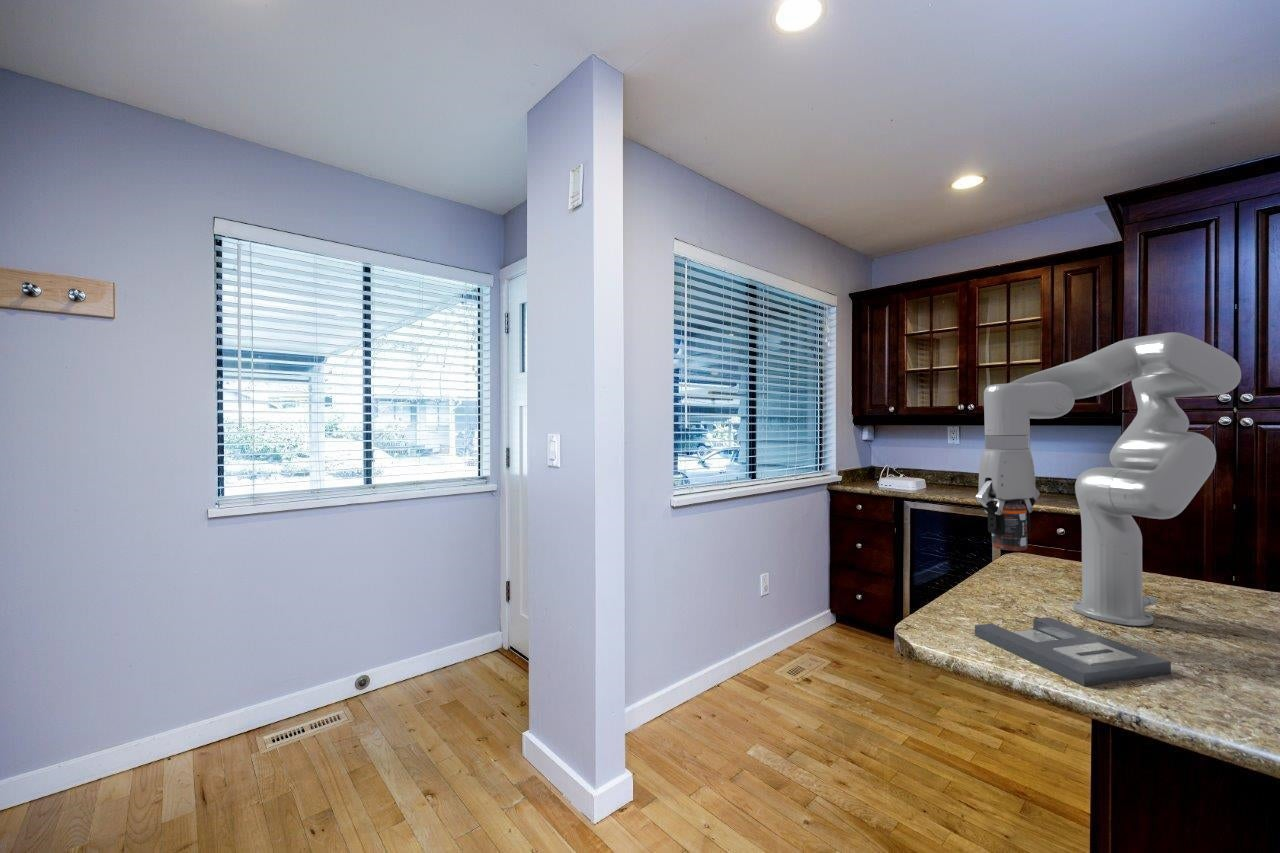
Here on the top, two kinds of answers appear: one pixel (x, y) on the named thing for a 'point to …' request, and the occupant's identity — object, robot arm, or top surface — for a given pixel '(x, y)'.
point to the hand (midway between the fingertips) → (1009, 531)
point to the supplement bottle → (1012, 527)
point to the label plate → (1075, 652)
